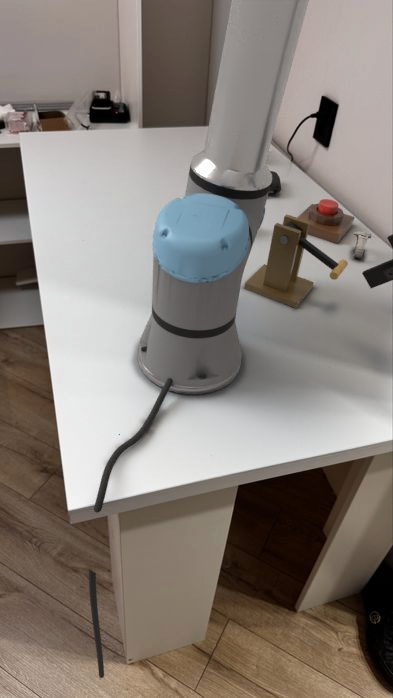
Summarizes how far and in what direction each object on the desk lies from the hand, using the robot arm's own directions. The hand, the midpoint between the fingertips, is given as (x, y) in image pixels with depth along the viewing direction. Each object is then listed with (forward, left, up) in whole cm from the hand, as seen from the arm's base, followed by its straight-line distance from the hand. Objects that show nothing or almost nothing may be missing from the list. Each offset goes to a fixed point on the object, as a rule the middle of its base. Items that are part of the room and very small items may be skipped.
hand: (379, 261), depth 83 cm
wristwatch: (+21, +7, -12) cm, 25 cm away
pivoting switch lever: (0, +11, -3) cm, 12 cm away
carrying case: (+36, +39, -12) cm, 54 cm away
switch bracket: (0, +15, -11) cm, 19 cm away
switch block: (+28, +17, -11) cm, 35 cm away
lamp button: (+28, +17, -8) cm, 34 cm away
